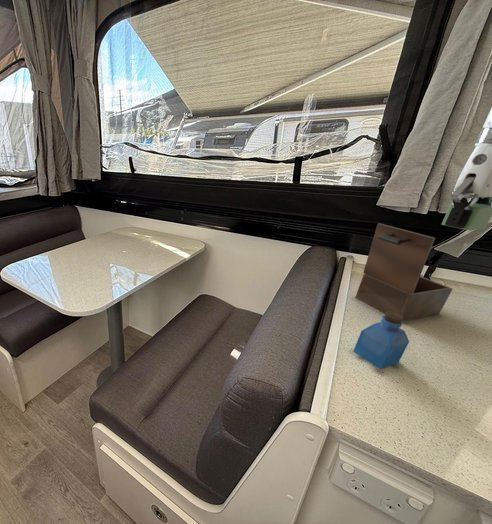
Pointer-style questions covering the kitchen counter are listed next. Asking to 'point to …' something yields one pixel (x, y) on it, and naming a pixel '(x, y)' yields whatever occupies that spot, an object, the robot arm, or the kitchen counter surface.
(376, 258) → the lid
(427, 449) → the kitchen counter surface
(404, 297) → the chest
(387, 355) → the perfume bottle
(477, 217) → the block
